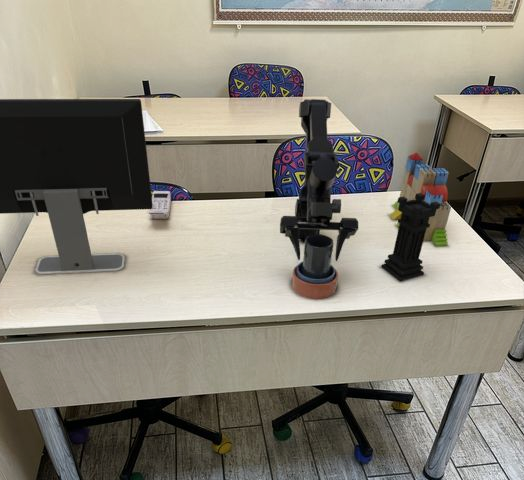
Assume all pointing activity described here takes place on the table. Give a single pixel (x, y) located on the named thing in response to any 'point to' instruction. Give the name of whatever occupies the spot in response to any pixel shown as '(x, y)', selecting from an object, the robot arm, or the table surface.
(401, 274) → the chess piece
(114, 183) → the computer monitor
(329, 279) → the stack middle
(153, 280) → the table surface
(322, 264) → the tumbler
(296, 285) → the stack bottom
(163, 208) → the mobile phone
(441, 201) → the block set
